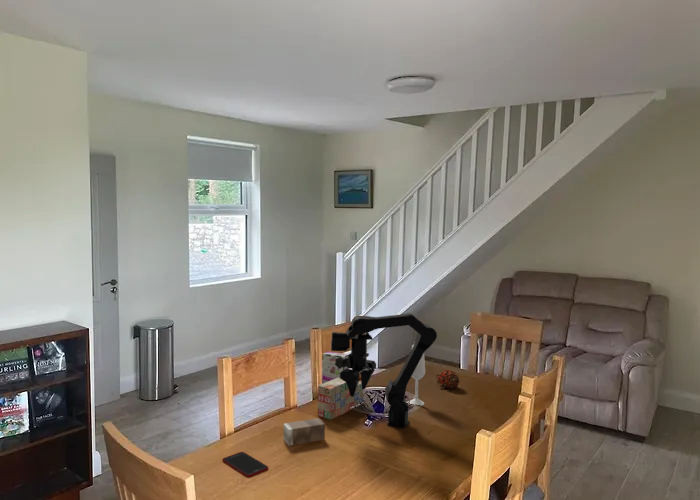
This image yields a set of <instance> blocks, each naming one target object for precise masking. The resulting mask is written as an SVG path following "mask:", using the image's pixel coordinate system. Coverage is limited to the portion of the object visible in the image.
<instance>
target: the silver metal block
mask: <svg viewBox="0 0 700 500" xmlns="http://www.w3.org/2000/svg"><path fill="white" fill-rule="evenodd" d="M325 428H326V423H324V421H323V420H322V419H320V418H319V417H317V418H311V419H306V420H299V421H292V422H291V421H290V422H287V423H286V422H285V423H283V440H284V441H285V443H286V445H287V446H295V445H301V444H306V443H312V442H317V441H323V440H325V439H326V435H325V434H326V431H325V430H326V429H325Z"/></svg>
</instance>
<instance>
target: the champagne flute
mask: <svg viewBox="0 0 700 500" xmlns="http://www.w3.org/2000/svg"><path fill="white" fill-rule="evenodd" d="M413 347H414V344H412V345H411V349H412V348H413ZM425 359H426V357H425V353H424V354H423V355H422V357H421V359H420V361H419V363H418V365H417V367H416V369H415V370H414V372H413V374H412V376H411V378H412V379H413V380H414V381H415V383H414V387H415V389H414V398H413V399H411V400H409V401H410V404H414V405H415V404H417V405H420V406H419V407H422V406H424V405H425V402H424V401H422V400H421V399H419V381H420V380H421V379H422V378H424V376H425V374H426V362H425ZM410 404H409V405H410Z"/></svg>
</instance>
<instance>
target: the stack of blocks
mask: <svg viewBox="0 0 700 500" xmlns="http://www.w3.org/2000/svg"><path fill="white" fill-rule="evenodd" d="M317 388H318V389H317V392H318V393H317V416H318V417H320V418H324V419H327V420H329V421H330V420H333V419H335V418H338V417H339V416H342V415H343V414H345V413H347V412H350V411H351V410H350V407H352V406H356V405H358V404H360V403H362V402H363V403H364V397H365V396H364V394H365V393H364V390H365V389H362V384H361V380H359V383H358V386H357V389H356V392H355V395H354V397H351V395H350V392H349V389H348V386H347V383H346V382H345V381H343V380H342V379H340V378H336V379H333V380H331V381H328V382H326V383H323V384H322V383H321V384H318V386H317Z"/></svg>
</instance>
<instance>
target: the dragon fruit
mask: <svg viewBox="0 0 700 500" xmlns="http://www.w3.org/2000/svg"><path fill="white" fill-rule="evenodd" d="M436 378H437V379H436V383H437V384H439V385H440V384H441V386H442V388H444V389H446V388H448V389H451V390H453V388H457V387H458V386H459V383H460V382H461V381H460V378H459V376H458V375H457V374H456V372H455V371H454V370H450V369H445V370H444V371H443V372H440V373H437V374H436Z"/></svg>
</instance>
